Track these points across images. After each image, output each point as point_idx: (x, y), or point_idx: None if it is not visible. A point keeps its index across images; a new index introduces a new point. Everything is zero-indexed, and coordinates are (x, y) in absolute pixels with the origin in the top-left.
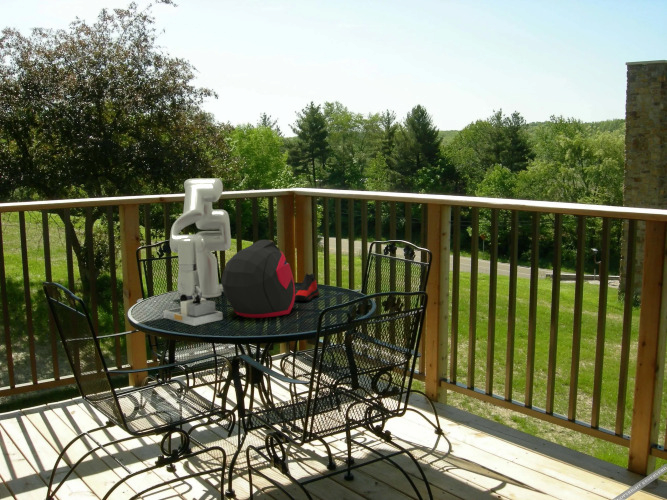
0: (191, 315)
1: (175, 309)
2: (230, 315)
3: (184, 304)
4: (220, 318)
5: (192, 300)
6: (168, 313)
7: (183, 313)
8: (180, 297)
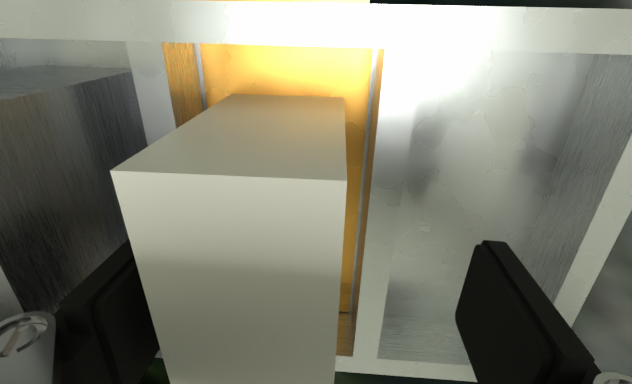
0: (47, 78)
1: (592, 203)
2: (166, 381)
3: (198, 157)
4: None
5: (250, 359)
6: (548, 9)
7: (283, 110)
8: (583, 363)
